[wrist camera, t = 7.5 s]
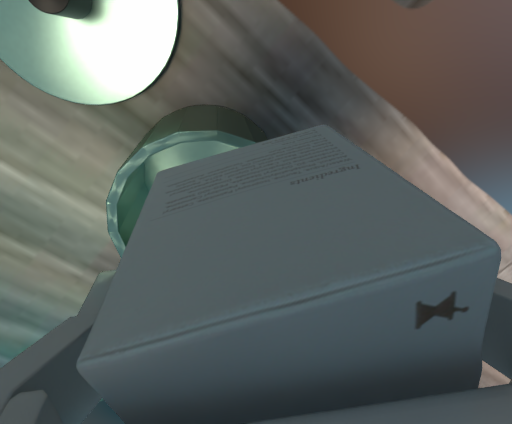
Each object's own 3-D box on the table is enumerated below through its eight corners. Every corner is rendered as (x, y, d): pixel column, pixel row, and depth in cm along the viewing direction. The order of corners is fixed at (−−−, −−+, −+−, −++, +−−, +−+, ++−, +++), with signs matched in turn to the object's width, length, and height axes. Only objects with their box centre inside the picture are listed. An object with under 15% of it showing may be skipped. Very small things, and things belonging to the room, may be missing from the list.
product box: (153, 167, 10) (55, 365, 4) (328, 118, 10) (526, 236, 4) (209, 296, 13) (207, 530, 7) (345, 259, 13) (472, 458, 7)
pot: (228, 72, 26) (235, 84, 18) (299, 193, 32) (329, 245, 24) (105, 155, 28) (59, 201, 20) (194, 254, 34) (188, 321, 26)
